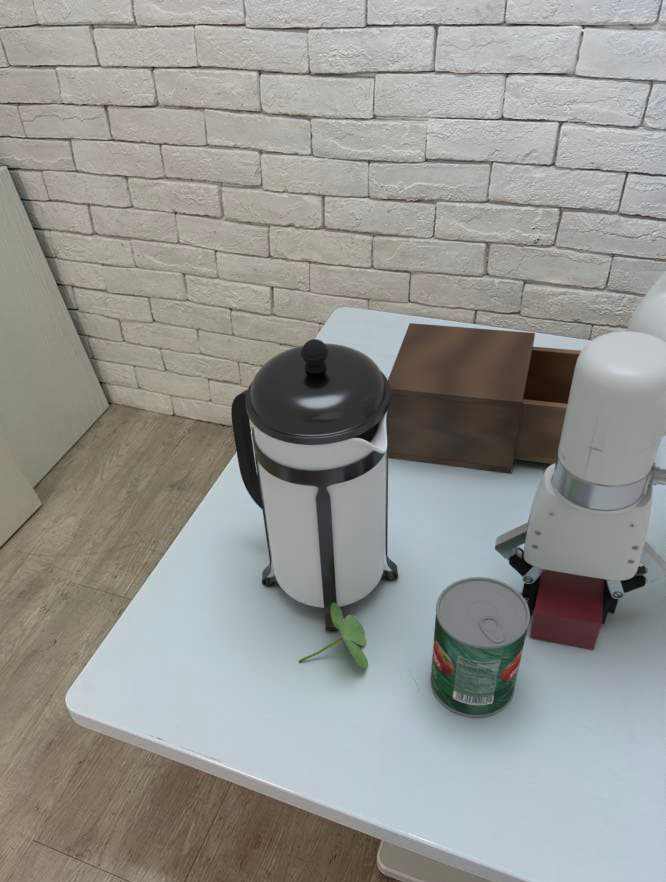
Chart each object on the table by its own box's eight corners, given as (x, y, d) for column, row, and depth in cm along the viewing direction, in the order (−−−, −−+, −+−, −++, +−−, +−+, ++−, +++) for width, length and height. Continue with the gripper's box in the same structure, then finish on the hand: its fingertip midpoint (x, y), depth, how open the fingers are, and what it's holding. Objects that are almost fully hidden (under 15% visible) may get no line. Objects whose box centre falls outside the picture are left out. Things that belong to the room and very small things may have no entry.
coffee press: (397, 525, 93) (402, 286, 72) (399, 634, 82) (406, 390, 61) (250, 525, 95) (213, 295, 74) (232, 631, 84) (183, 396, 63)
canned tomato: (417, 660, 79) (422, 588, 72) (492, 641, 80) (504, 567, 72) (449, 727, 74) (457, 657, 66) (529, 706, 75) (547, 633, 67)
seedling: (329, 680, 85) (381, 652, 82) (308, 705, 77) (365, 675, 75) (294, 622, 85) (344, 592, 83) (269, 641, 78) (324, 609, 75)
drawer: (644, 412, 101) (662, 352, 95) (643, 481, 92) (662, 420, 86) (488, 396, 107) (495, 338, 101) (473, 459, 98) (479, 400, 92)
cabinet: (524, 403, 106) (535, 332, 99) (511, 473, 97) (522, 401, 90) (407, 390, 111) (409, 322, 103) (384, 457, 102) (384, 387, 94)
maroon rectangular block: (538, 572, 86) (544, 547, 83) (598, 582, 84) (606, 556, 81) (529, 637, 80) (535, 612, 77) (594, 650, 78) (602, 624, 75)
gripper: (709, 459, 69) (657, 595, 81) (502, 434, 74) (484, 566, 87) (713, 518, 64) (657, 653, 77) (491, 487, 69) (473, 619, 82)
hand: (565, 605), depth 81 cm, fingers closed on maroon rectangular block, 6 cm apart
